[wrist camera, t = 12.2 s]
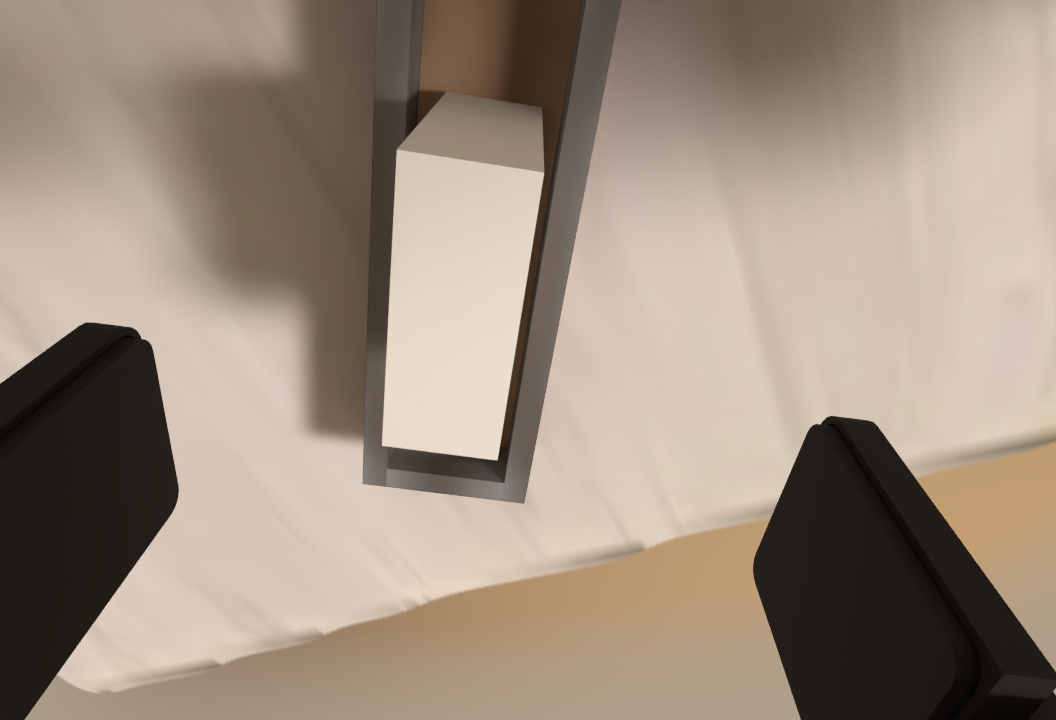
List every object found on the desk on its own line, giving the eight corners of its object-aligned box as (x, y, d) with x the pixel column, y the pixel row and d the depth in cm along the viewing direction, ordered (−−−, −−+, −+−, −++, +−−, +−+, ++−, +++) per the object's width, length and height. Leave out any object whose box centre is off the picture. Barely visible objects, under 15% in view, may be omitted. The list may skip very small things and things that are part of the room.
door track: (635, -146, 24) (654, -171, 20) (525, 450, 38) (524, 503, 34) (409, -188, 24) (383, -221, 20) (380, 432, 38) (362, 483, 34)
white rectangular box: (543, 107, 27) (546, 172, 18) (510, 320, 32) (498, 460, 23) (445, 91, 27) (394, 149, 18) (427, 308, 32) (380, 445, 22)
